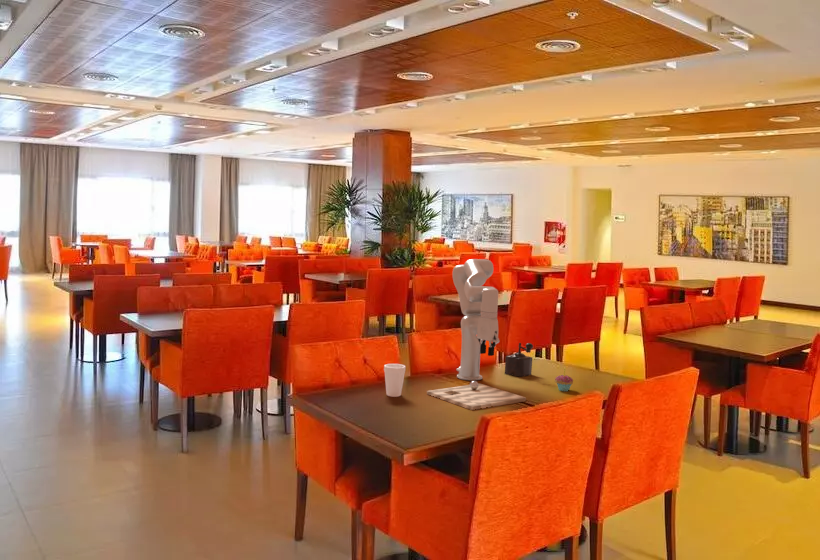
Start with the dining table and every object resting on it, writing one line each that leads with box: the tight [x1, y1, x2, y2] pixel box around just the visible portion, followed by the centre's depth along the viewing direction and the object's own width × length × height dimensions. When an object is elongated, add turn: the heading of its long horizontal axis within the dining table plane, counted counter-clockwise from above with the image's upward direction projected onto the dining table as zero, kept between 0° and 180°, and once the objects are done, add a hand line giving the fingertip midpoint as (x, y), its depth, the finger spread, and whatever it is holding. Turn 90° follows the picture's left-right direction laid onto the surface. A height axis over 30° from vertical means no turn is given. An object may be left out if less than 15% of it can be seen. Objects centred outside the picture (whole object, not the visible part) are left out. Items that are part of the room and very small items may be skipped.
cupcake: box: [554, 366, 574, 392], centre depth 335 cm, size 9×8×12 cm
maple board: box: [426, 382, 527, 411], centre depth 314 cm, size 30×32×2 cm
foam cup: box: [383, 363, 407, 398], centre depth 312 cm, size 10×9×13 cm
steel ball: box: [469, 380, 479, 390], centre depth 322 cm, size 4×4×4 cm
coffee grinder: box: [504, 342, 534, 378], centre depth 365 cm, size 16×11×18 cm
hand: (486, 354), depth 325 cm, fingers open, 4 cm apart
